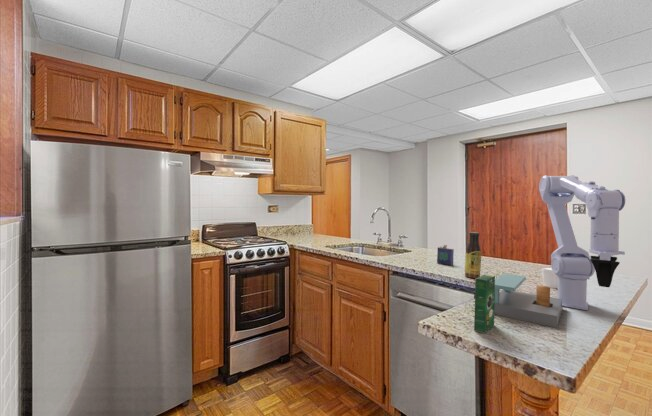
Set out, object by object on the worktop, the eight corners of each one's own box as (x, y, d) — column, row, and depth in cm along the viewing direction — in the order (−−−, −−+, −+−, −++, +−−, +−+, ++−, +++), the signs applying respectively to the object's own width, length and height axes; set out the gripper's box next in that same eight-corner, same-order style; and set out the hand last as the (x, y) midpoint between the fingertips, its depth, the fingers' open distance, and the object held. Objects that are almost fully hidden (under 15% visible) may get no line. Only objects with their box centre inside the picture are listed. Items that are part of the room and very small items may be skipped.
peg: (536, 311, 92) (537, 284, 92) (550, 314, 90) (550, 286, 89) (535, 314, 89) (535, 286, 89) (548, 317, 87) (549, 288, 87)
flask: (454, 265, 163) (454, 245, 163) (451, 266, 161) (451, 245, 161) (438, 262, 171) (438, 243, 171) (435, 263, 169) (435, 244, 169)
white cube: (539, 286, 122) (540, 268, 122) (542, 283, 127) (542, 266, 127) (561, 289, 117) (561, 271, 117) (563, 286, 122) (563, 269, 122)
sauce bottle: (471, 279, 132) (472, 233, 132) (461, 275, 139) (462, 231, 138) (484, 278, 134) (485, 232, 134) (473, 275, 140) (474, 231, 140)
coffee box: (483, 322, 82) (484, 273, 82) (495, 325, 80) (495, 274, 80) (473, 330, 77) (474, 277, 76) (485, 334, 75) (486, 280, 75)
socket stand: (503, 298, 105) (503, 273, 105) (562, 308, 94) (562, 281, 94) (488, 312, 90) (489, 283, 90) (556, 327, 79) (557, 294, 79)
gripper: (627, 236, 76) (626, 291, 76) (622, 233, 87) (621, 282, 87) (589, 234, 80) (588, 286, 80) (589, 232, 91) (588, 278, 91)
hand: (603, 284), depth 84 cm, fingers open, 7 cm apart
